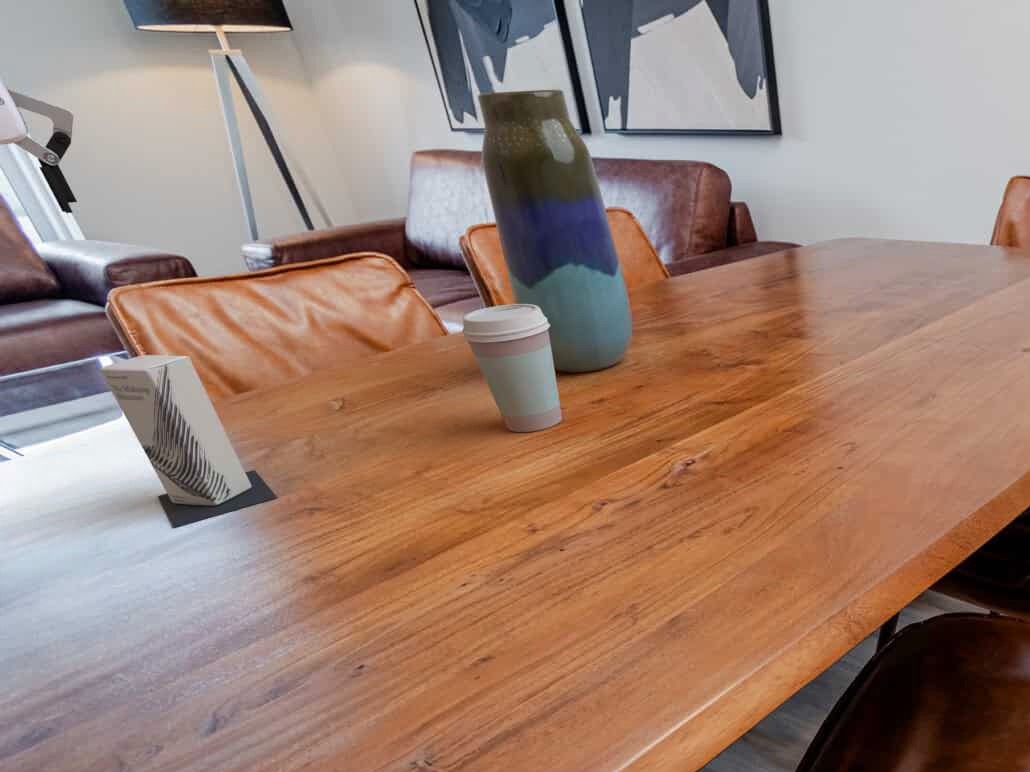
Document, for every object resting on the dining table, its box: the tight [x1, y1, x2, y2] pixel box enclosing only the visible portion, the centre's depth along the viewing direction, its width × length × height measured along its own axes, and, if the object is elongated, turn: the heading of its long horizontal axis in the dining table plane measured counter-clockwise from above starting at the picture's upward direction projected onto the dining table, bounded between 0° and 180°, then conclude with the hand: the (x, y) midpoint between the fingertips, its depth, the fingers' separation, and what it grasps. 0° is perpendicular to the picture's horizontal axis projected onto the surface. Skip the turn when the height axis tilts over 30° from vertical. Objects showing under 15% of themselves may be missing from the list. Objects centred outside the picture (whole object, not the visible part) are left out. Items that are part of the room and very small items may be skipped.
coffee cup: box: [461, 303, 563, 433], centre depth 88 cm, size 9×8×12 cm
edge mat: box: [157, 469, 278, 529], centre depth 78 cm, size 8×10×1 cm
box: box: [99, 354, 252, 506], centre depth 74 cm, size 5×4×13 cm
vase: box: [477, 89, 634, 373], centre depth 102 cm, size 14×14×31 cm
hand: (1, 217), depth 77 cm, fingers open, 9 cm apart
